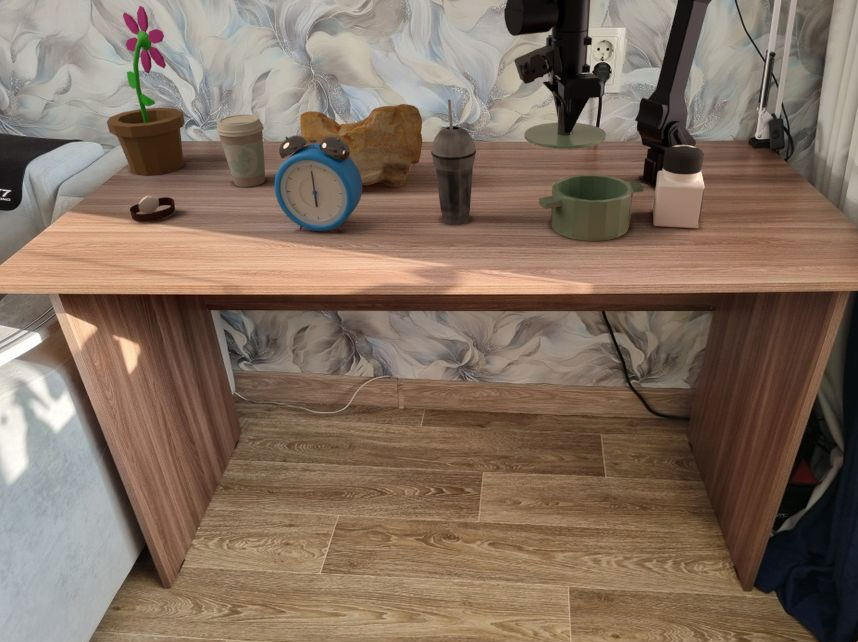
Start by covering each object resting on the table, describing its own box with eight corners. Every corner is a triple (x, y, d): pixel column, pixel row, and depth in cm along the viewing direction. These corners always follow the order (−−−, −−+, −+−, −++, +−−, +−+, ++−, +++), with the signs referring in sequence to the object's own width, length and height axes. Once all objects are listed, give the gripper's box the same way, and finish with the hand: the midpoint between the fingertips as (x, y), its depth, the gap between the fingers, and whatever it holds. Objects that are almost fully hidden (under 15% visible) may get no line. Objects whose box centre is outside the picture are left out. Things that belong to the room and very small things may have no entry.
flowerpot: (208, 162, 152) (175, 5, 136) (151, 183, 142) (107, 15, 126) (164, 152, 159) (127, 1, 143) (106, 171, 149) (59, 11, 133)
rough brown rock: (440, 171, 147) (435, 93, 140) (421, 194, 132) (415, 108, 126) (330, 171, 151) (320, 95, 144) (300, 193, 136) (288, 110, 129)
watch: (170, 207, 131) (165, 188, 129) (182, 214, 128) (177, 194, 126) (128, 219, 127) (122, 199, 125) (139, 226, 124) (133, 206, 122)
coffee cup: (218, 186, 140) (204, 123, 133) (245, 172, 146) (233, 112, 140) (255, 191, 137) (243, 127, 131) (281, 177, 144) (271, 115, 137)
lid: (510, 135, 126) (510, 102, 123) (578, 124, 130) (580, 92, 127) (549, 157, 115) (550, 121, 112) (621, 144, 120) (624, 109, 117)
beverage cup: (482, 213, 125) (481, 94, 115) (469, 230, 120) (466, 105, 109) (443, 209, 128) (438, 91, 117) (427, 225, 122) (421, 102, 111)
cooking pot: (523, 221, 122) (524, 183, 119) (615, 204, 128) (618, 167, 125) (560, 249, 112) (562, 209, 109) (658, 229, 118) (662, 191, 115)
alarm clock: (280, 231, 121) (265, 141, 113) (293, 217, 126) (279, 130, 118) (356, 234, 119) (346, 143, 111) (367, 220, 124) (358, 132, 116)
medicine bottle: (698, 229, 118) (710, 156, 112) (653, 226, 119) (662, 154, 113) (695, 212, 124) (706, 142, 117) (652, 210, 125) (661, 140, 119)
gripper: (507, 23, 120) (506, 118, 129) (533, 42, 105) (531, 150, 113) (572, 19, 122) (567, 114, 130) (608, 38, 106) (600, 145, 114)
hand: (565, 130), depth 122 cm, fingers closed on lid, 2 cm apart
